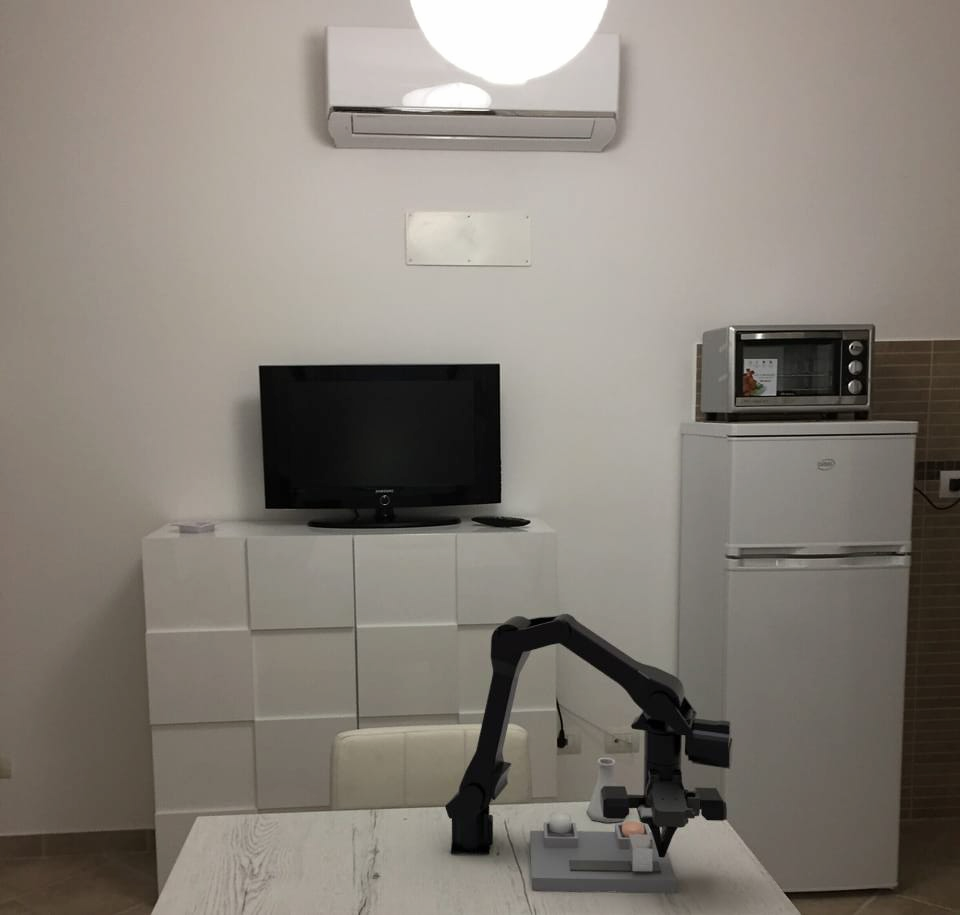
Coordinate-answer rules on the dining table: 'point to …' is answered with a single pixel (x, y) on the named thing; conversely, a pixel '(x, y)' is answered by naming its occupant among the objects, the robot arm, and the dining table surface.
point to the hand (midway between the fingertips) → (661, 856)
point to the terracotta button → (632, 829)
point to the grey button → (560, 822)
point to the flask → (604, 779)
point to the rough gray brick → (640, 852)
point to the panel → (594, 863)
